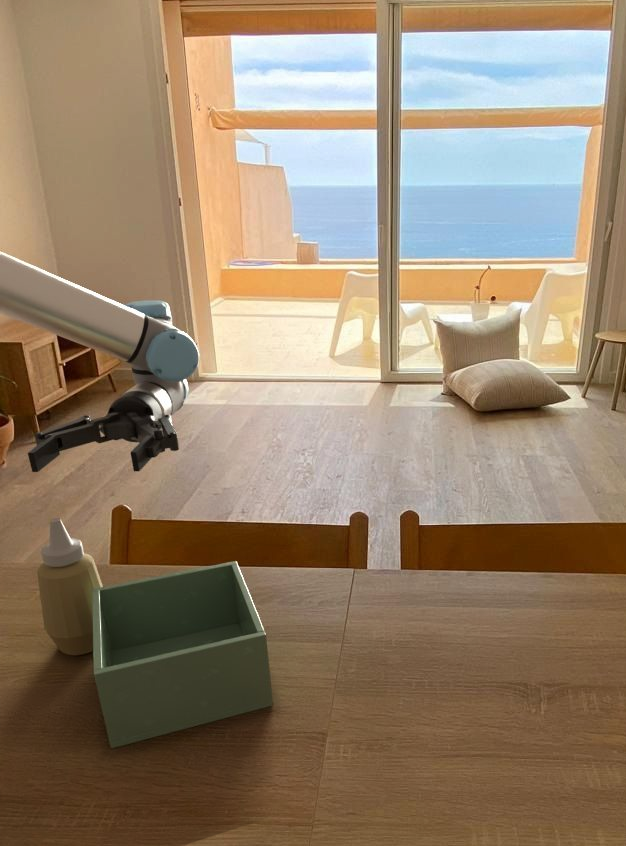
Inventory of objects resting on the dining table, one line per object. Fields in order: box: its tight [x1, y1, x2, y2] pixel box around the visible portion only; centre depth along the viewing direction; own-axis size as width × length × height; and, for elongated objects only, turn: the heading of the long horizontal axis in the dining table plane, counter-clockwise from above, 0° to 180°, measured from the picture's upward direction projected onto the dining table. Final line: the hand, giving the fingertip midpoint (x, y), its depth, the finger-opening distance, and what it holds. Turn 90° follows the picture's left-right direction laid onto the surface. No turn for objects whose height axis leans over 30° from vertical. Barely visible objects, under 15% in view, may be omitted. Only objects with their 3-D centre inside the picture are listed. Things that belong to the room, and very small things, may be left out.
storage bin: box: [92, 560, 274, 749], centre depth 82 cm, size 18×18×10 cm
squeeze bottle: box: [36, 517, 104, 656], centre depth 87 cm, size 8×8×18 cm
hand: (83, 462), depth 91 cm, fingers open, 13 cm apart
